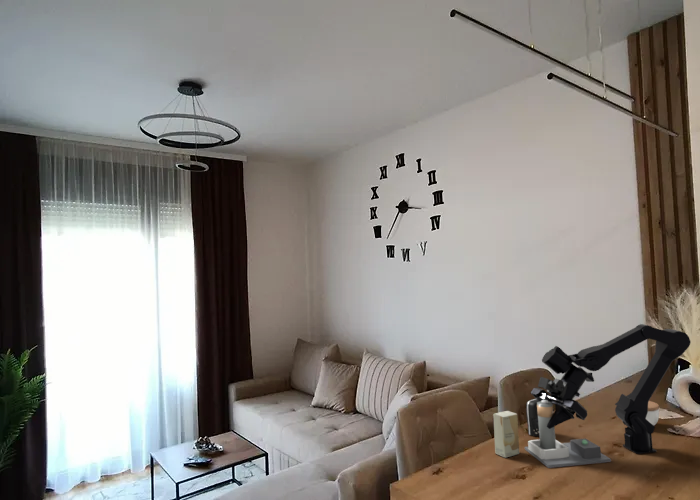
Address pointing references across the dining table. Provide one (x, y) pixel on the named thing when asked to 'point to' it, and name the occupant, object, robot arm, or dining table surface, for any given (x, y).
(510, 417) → the skincare box
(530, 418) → the battery charger
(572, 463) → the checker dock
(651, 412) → the lidded jar
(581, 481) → the dining table surface
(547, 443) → the big cell
